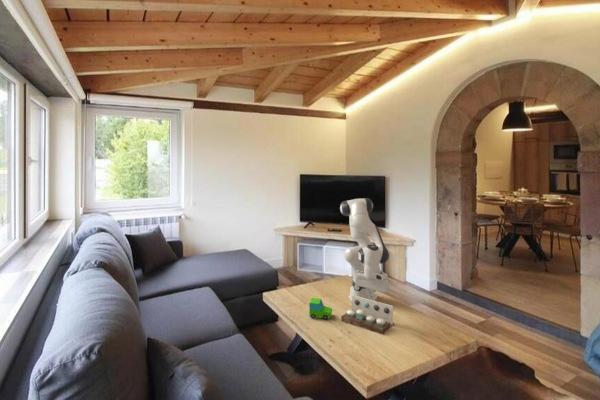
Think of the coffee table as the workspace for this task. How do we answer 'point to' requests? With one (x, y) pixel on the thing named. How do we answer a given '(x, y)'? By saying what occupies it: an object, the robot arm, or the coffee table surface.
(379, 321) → the button
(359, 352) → the coffee table surface
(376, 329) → the walnut button board
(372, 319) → the button
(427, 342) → the coffee table surface
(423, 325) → the coffee table surface
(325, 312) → the toy car
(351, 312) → the button
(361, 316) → the button
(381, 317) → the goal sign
